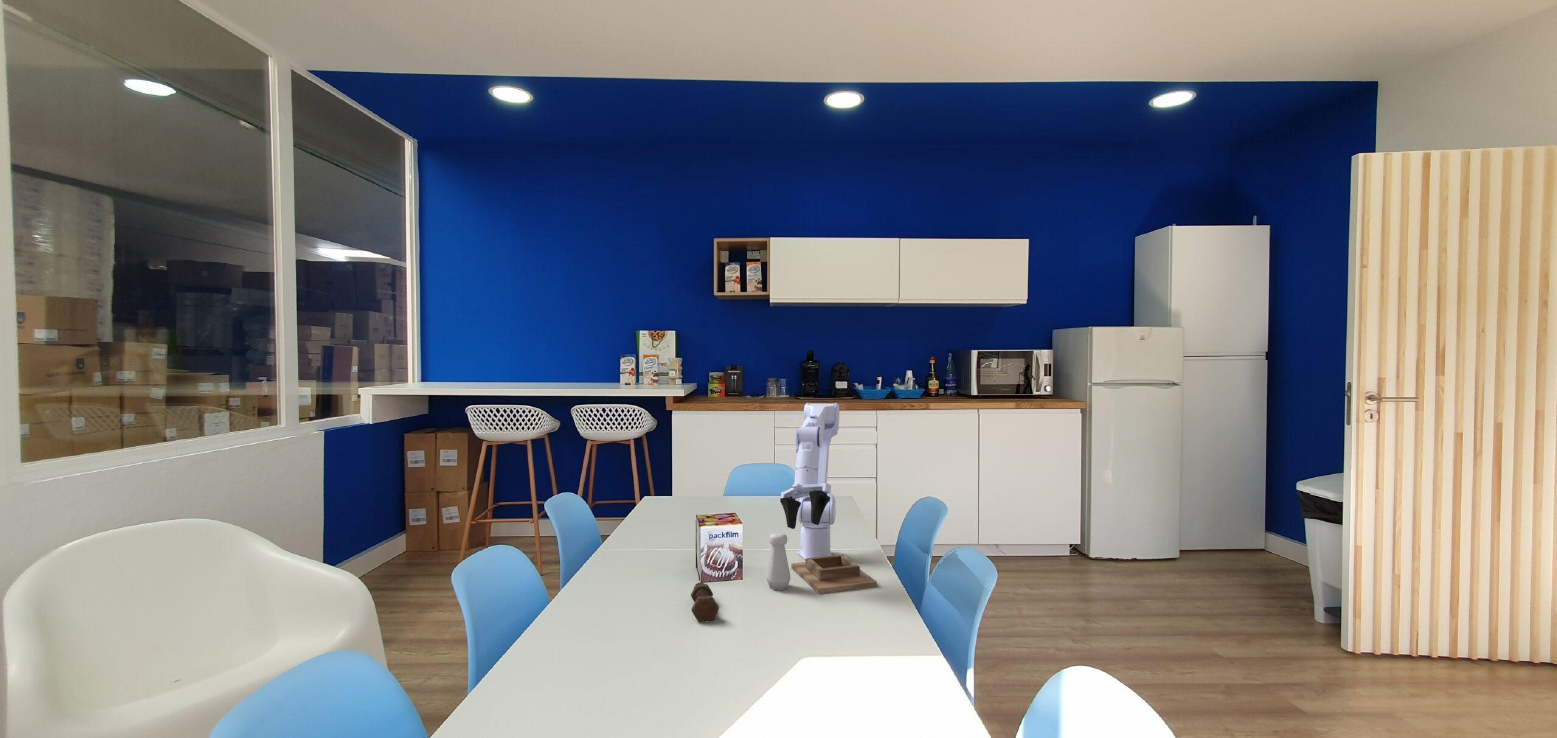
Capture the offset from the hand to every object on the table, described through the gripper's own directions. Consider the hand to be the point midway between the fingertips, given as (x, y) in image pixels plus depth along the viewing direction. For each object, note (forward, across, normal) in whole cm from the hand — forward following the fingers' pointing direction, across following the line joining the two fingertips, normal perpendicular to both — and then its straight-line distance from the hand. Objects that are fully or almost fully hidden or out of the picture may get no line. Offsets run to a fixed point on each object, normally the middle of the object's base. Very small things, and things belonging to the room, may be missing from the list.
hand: (802, 525), depth 163 cm
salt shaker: (+13, -9, +3) cm, 16 cm away
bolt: (+22, -13, -16) cm, 30 cm away
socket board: (+8, -4, +16) cm, 19 cm away
